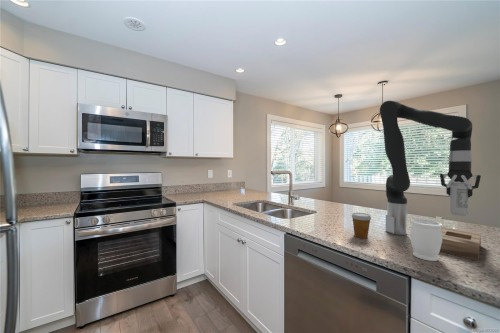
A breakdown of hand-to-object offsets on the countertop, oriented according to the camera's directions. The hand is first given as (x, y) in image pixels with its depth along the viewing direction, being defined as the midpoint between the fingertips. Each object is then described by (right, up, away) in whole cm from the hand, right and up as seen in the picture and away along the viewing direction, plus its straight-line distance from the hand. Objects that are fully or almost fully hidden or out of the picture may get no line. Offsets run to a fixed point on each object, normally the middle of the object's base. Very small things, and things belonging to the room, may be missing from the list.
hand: (458, 196), depth 100 cm
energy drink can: (0, -9, 0) cm, 9 cm away
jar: (-24, -25, -10) cm, 36 cm away
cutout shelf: (0, -24, 0) cm, 24 cm away
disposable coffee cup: (-38, -24, +15) cm, 48 cm away
